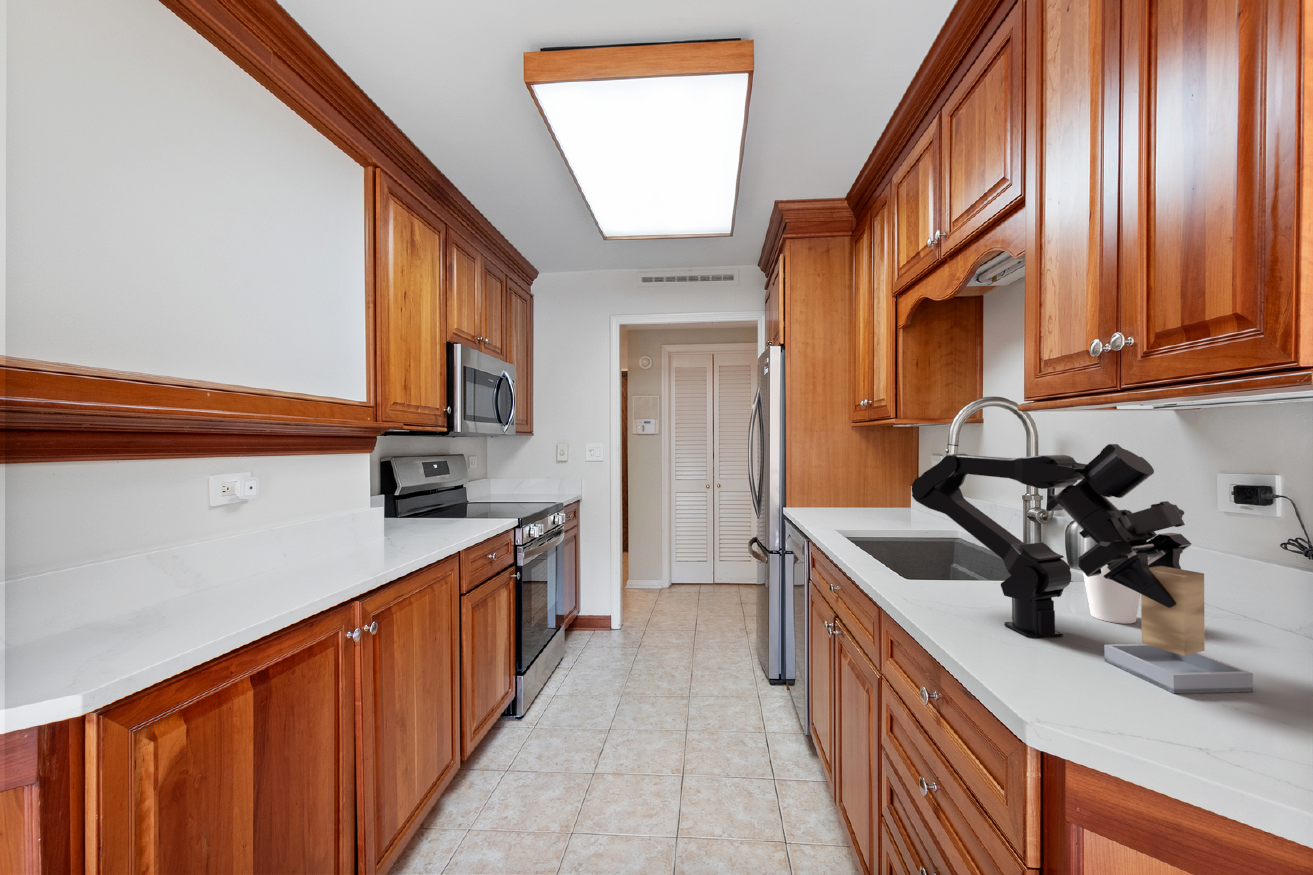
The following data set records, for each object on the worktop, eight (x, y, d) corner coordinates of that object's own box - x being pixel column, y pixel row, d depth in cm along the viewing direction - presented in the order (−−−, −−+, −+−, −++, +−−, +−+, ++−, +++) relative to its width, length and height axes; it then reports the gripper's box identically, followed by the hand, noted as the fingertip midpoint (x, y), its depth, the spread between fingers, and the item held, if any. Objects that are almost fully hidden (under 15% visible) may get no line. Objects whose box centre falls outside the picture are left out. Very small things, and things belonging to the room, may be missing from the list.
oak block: (1141, 643, 81) (1141, 568, 81) (1161, 638, 83) (1161, 565, 83) (1184, 655, 76) (1184, 576, 76) (1204, 650, 78) (1204, 573, 78)
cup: (1083, 608, 111) (1082, 548, 111) (1143, 616, 105) (1142, 554, 105) (1082, 619, 104) (1081, 556, 104) (1145, 629, 98) (1144, 562, 98)
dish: (1104, 660, 85) (1104, 644, 85) (1173, 659, 85) (1173, 643, 85) (1173, 693, 74) (1173, 674, 74) (1253, 691, 74) (1252, 673, 74)
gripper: (1100, 486, 80) (1198, 580, 69) (1174, 481, 87) (1273, 566, 76) (1044, 531, 87) (1126, 623, 77) (1117, 524, 94) (1201, 607, 84)
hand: (1183, 603), depth 78 cm, fingers closed on oak block, 5 cm apart
